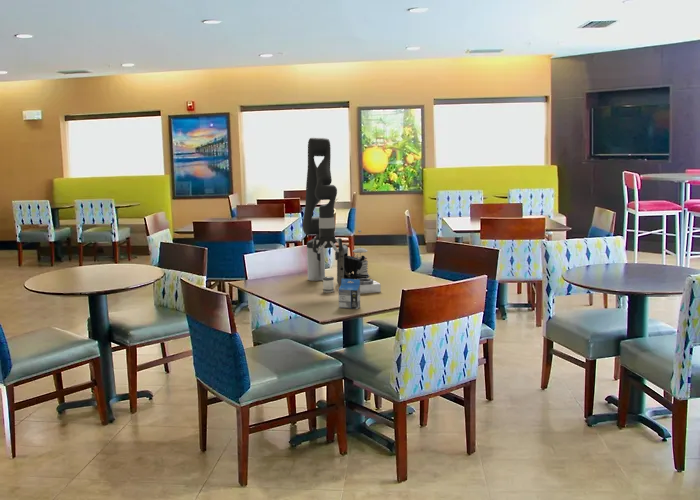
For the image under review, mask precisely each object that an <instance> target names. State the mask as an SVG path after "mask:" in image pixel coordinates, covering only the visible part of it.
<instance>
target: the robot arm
mask: <svg viewBox="0 0 700 500" xmlns="http://www.w3.org/2000/svg"><path fill="white" fill-rule="evenodd" d="M331 149H332V148H331V141H330V139H329V138H327V137H310V138H308V142H307V173H306V183H305V184H306V186H305V205H304V212H303V213H304V214H303V222H302V230H303V233H304V235H306V236H310V235H311V236H312V235H315V236H314V237H313V238H312V239H310V240H308V241H307V242H306V262H307V265H306V266H307V280H308V281H313V282H314V281H316V282H317V281H323V277H326V260H325V259H326V257H325V249H333V250H334V251H335V252H334V260H335V261H337V260H338V259H339V251H342V250H343V248H342V245H343V241H342V238H340V237H338V238H336V222H335V202H336V198H337V194H338V189H337V187H336V185H335V184H332V173H331V172H332V171H331V155H332V154H331V151H332V150H331ZM315 157H323V159H322V160H321V162H320V163H319V164H318V165H317V164H316V161H315ZM320 201H328V202H327V203H325V204H321V205H319V207H318V215H319V216H313V214H314V211H315V208H316V207H317V205H318V204H319V202H320ZM336 242H337V243H338V247H337V246H336V244H335V243H336ZM338 248H339V249H338Z"/></svg>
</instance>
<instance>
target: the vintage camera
mask: <svg viewBox="0 0 700 500" xmlns="http://www.w3.org/2000/svg"><path fill="white" fill-rule="evenodd" d="M342 248H343V250H342V251H339V259H338V260H336V282H337V283H336V284H338V286H341V279H363V278H364V279H365V278H366V279H369V277H370V276H368V275H362V274H361V273H359V274H357V272H358V270H360V269H361V267H362V263H363V262H362V260H364V259H365V257H366V256H365V255H360V256H361V258H360V259H358V258H356V257H357V256H356V257H355V256H354V255H352V256H351V255H348V254H349V253H348V252H349V248H348V245H347V244H345V243H342ZM337 249H339V247H337ZM353 256H354V257H353ZM365 260H366V259H365Z"/></svg>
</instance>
